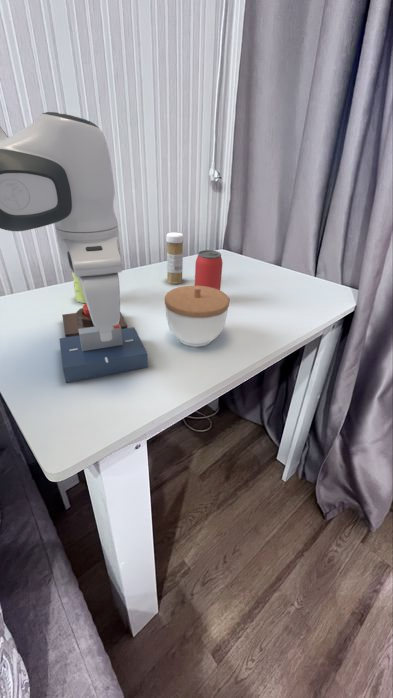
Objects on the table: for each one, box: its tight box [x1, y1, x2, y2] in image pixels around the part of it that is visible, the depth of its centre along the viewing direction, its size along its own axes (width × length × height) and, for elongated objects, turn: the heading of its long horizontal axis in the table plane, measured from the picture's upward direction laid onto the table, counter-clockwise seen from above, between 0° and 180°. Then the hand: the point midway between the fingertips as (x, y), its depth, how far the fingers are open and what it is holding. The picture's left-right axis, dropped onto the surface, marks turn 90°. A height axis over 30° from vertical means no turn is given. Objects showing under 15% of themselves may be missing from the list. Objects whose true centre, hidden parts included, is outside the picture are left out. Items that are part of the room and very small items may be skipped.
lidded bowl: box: [164, 285, 230, 348], centre depth 66 cm, size 13×13×11 cm
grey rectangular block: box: [78, 324, 123, 351], centre depth 59 cm, size 7×2×4 cm, turn 112°
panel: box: [59, 326, 149, 384], centre depth 60 cm, size 14×11×3 cm
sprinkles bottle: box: [165, 231, 184, 285], centre depth 91 cm, size 5×5×14 cm
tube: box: [71, 270, 87, 304], centre depth 78 cm, size 6×5×20 cm
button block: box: [61, 307, 128, 338], centre depth 69 cm, size 12×9×4 cm
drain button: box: [82, 303, 91, 317], centre depth 68 cm, size 4×4×2 cm
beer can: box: [194, 249, 224, 291], centre depth 82 cm, size 7×7×12 cm
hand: (101, 325), depth 57 cm, fingers open, 8 cm apart
